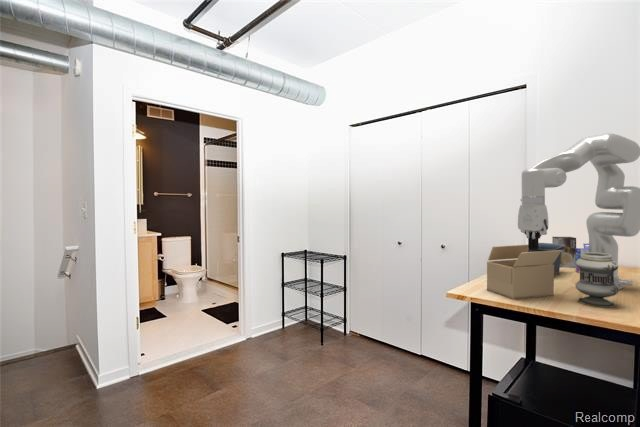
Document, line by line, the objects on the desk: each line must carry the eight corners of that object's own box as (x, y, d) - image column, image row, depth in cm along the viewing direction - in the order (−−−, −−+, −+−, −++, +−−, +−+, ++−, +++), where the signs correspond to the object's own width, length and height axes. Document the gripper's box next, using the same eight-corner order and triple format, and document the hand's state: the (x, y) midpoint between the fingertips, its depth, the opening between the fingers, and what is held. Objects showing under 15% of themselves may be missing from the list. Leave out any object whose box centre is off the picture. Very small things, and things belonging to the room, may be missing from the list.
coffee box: (569, 265, 188) (570, 236, 187) (576, 267, 182) (577, 237, 181) (551, 264, 190) (552, 236, 189) (557, 267, 183) (558, 237, 183)
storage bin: (552, 280, 156) (552, 249, 156) (515, 274, 169) (516, 245, 168) (566, 273, 170) (567, 244, 169) (532, 268, 182) (532, 241, 181)
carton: (525, 286, 146) (525, 258, 146) (554, 295, 133) (554, 264, 132) (486, 289, 142) (486, 261, 141) (512, 299, 128) (512, 268, 128)
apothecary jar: (573, 296, 131) (573, 250, 130) (613, 300, 124) (614, 252, 124) (577, 305, 120) (578, 255, 119) (622, 310, 114) (623, 257, 113)
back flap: (524, 257, 145) (524, 257, 146) (530, 244, 142) (529, 244, 143) (488, 260, 141) (487, 259, 141) (493, 247, 138) (492, 246, 138)
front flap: (560, 249, 129) (561, 250, 129) (552, 262, 133) (553, 263, 132) (520, 252, 125) (521, 253, 124) (513, 265, 128) (514, 266, 128)
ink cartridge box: (596, 271, 171) (597, 243, 171) (603, 274, 166) (603, 244, 165) (574, 271, 173) (574, 243, 173) (580, 273, 168) (580, 244, 167)
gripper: (509, 201, 136) (510, 246, 137) (542, 202, 122) (542, 252, 122) (524, 200, 138) (525, 245, 139) (559, 201, 123) (559, 250, 124)
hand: (533, 248), depth 131 cm, fingers closed
